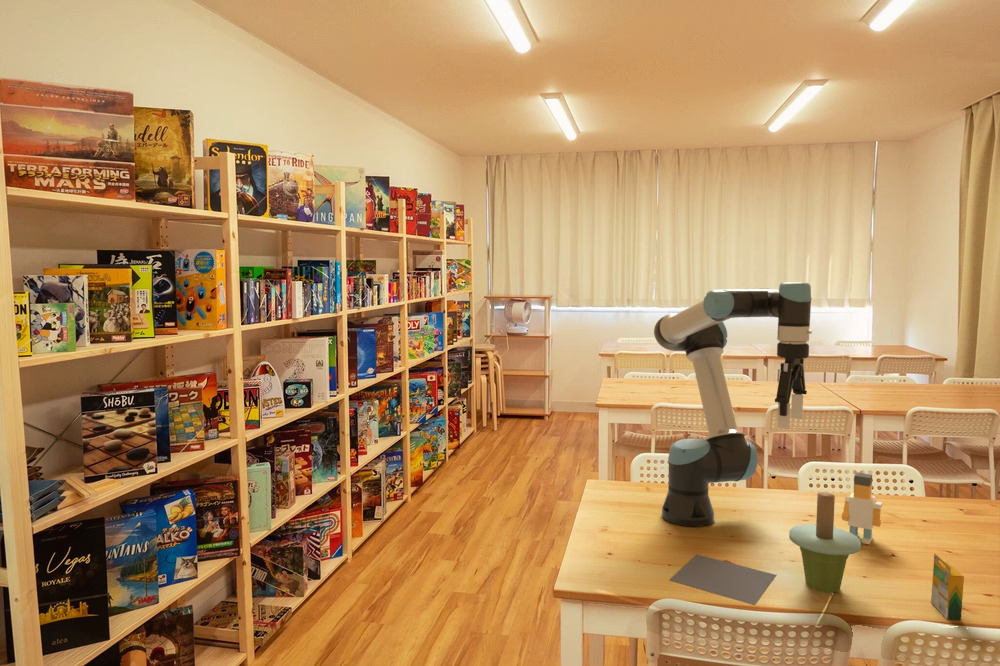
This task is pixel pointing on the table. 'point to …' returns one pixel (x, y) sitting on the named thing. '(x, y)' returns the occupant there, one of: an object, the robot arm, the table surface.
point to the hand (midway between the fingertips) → (790, 423)
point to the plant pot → (823, 570)
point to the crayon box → (947, 589)
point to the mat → (724, 579)
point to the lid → (825, 532)
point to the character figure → (862, 507)
